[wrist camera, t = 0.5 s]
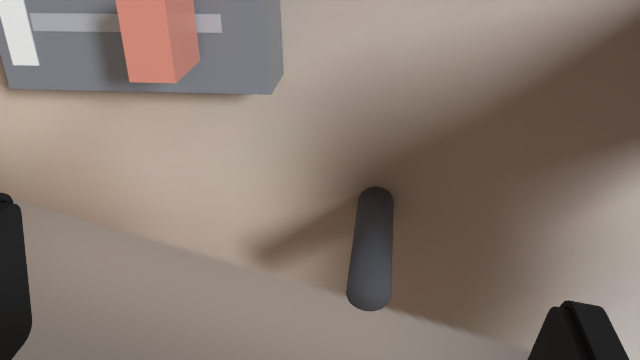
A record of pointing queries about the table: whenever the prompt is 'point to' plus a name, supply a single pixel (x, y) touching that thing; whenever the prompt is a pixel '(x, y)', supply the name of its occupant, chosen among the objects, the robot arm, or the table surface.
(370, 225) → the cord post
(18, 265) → the robot arm
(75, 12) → the box
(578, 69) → the table surface
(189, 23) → the switch
